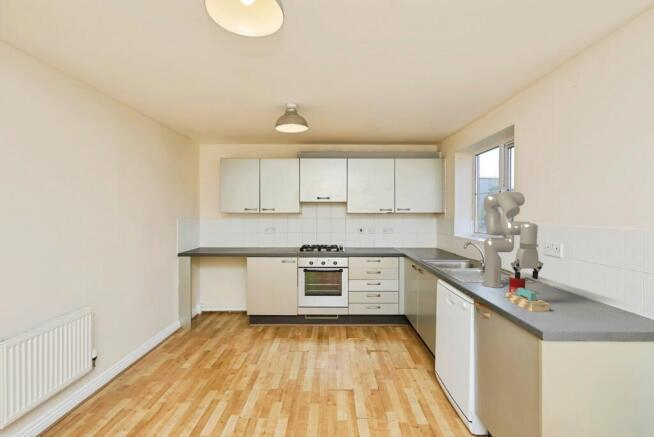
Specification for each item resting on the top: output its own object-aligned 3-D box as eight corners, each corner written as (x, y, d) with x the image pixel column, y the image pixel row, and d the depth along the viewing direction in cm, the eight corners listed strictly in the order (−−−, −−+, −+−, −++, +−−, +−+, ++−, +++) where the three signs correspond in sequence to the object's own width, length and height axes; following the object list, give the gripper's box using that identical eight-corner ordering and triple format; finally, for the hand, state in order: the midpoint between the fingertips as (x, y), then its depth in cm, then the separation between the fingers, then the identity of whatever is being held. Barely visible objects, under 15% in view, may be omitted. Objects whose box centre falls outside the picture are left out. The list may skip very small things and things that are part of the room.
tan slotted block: (505, 299, 175) (506, 292, 174) (521, 299, 175) (521, 292, 175) (531, 311, 155) (532, 303, 154) (549, 311, 155) (549, 303, 155)
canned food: (527, 296, 181) (527, 277, 180) (511, 295, 183) (512, 277, 182) (521, 293, 188) (522, 275, 188) (507, 292, 190) (507, 274, 190)
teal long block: (517, 300, 170) (517, 287, 169) (522, 300, 170) (522, 287, 170) (530, 306, 160) (530, 293, 160) (535, 306, 160) (536, 292, 160)
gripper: (538, 245, 168) (536, 276, 169) (507, 245, 167) (506, 277, 168) (549, 247, 161) (547, 280, 162) (517, 248, 159) (515, 281, 161)
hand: (526, 278), depth 165 cm, fingers open, 9 cm apart
